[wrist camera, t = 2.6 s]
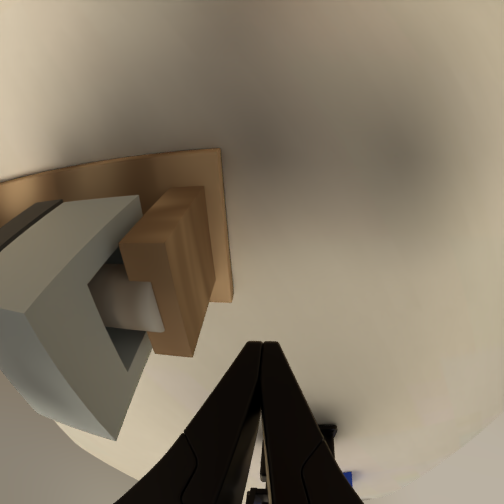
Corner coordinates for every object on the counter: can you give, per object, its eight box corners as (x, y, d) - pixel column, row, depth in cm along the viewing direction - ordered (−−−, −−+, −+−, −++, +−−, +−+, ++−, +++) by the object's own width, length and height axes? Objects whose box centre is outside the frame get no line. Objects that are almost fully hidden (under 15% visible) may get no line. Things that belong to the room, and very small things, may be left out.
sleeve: (138, 194, 11) (24, 313, 5) (166, 313, 14) (116, 441, 8) (63, 202, 11) (-46, 296, 5) (99, 307, 14) (37, 413, 8)
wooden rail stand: (220, 148, 13) (168, 206, 7) (233, 293, 17) (212, 399, 11) (-29, 191, 15) (-91, 235, 9) (3, 279, 19) (-44, 332, 13)
